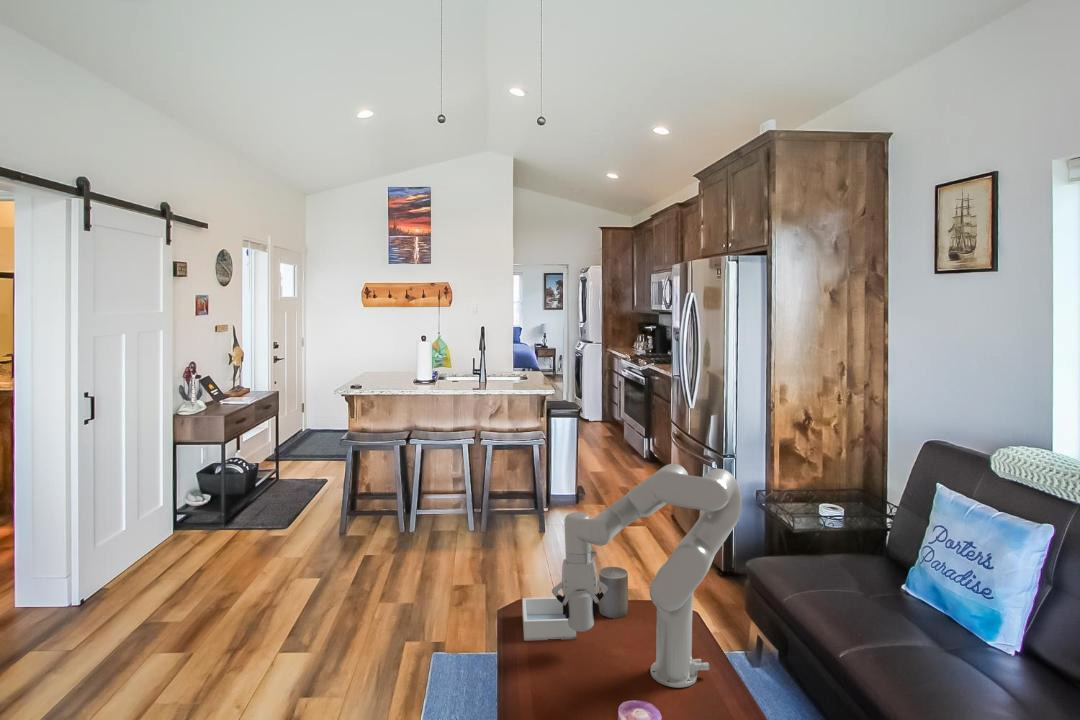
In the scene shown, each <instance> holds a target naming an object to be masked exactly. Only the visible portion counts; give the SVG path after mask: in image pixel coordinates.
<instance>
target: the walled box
mask: <svg viewBox="0 0 1080 720" xmlns="http://www.w3.org/2000/svg"><path fill="white" fill-rule="evenodd" d="M521 602H522V605H521V606H522V629H523V641H527V642H529V641H530V642H531V641H549V640H548V639H561V640H577V631H575V630H573V629H572V628H571V627H569V625H568V619H566V616H565V615H563V604H562V603H561V602H560V601H559V600H558V599H557V598H556V597H555V596H553V597H523V598H522V601H521Z"/></svg>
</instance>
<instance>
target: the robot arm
mask: <svg viewBox="0 0 1080 720" xmlns="http://www.w3.org/2000/svg"><path fill="white" fill-rule="evenodd" d="M667 504H668V505H672V506H677V507H682V508H687V509H693V510H699V511H702V513H701V514H700V515H699V518H698V520H697V521H696V522H695V523H694V525H693V526H692V528H690V530H689V531H688V533H687V534H685V535H684V537H683V538H682V539H681V540H680V541H679V543H678V544H677V546H676V547H675V548H674V550H673V551H672V553H671V554H670V556H669V557H668V559H667V560H666V561H665V562H664V563H663V564H662V565H661V566H660V568H659V569H658V571H657V572H656V574H655V576H654V577H653V579H652V580H651V582H650V585H649V597H650V600H651V602H652V603H653V606H655V607H656V631H655V633H656V635H655V636H656V639H655V641H656V643H655V645H656V646H655V649H656V651H655V652H656V653H655V655H656V657H655V658H656V659H655V661H654V662H653V663H652V664H651V665H650V672H649V673H650V675H651V678H652V679H653V680H655V681H656V683H659V684H660V685H663V686H664V687H665V686H666V687H670V688H678V689H680V688H687V687H691V686H692V685H694V684H695V683H696V682H697V680H698V672H699V671H709V670H710V663H709V662H707V661H706V662H702V659H701V658H693V657H692V653H693V651H692V648H693V642H692V641H693V606H694V605H693V604H694V592H695V590H697V588H698V587H699V585H700V584H701V582H702V581H704V579H705V577H706V576H707V574H708V572H709V571H710V569H711V566H712V564H713V560H714V558H715V556H716V554H717V553H718V551H719V550H720V548H721V547H722V545H723V544H724V543H725V542H726V541H727V539H728V537H729V535H730V534H731V532H732V531H733V530H734V528H735V527H736V525H737V523H738V521H739V519H740V515H741V512H742V505H743V497H742V490H741V488H740V486H739V483H738V481H737V479H736V478H735V477H734V476H733V474H732V473H731V472H730V471H728V470H726V469H723V468H715V469H711V470H709V471H707V473H705V474H704V475H703V476H697V475H690V474H689V472H688V471H687V470H686V469H685V468H684V466H682V465H681V464H678V463H668V464H666V465H664V466H662V467H661V468H660V469H658V470H657V471H655V472H654V473H652V474H651V475H650V476H648V477H647V478H645V479H644V480H642V482H640V483H639V484H637V485H635V486H634V487H633V488H631V489H630V490H629V491H628V492H627V493H626V494H625V495H623V496H622V497H621V498H619V499H618V500H616V501H615V502H614V503H612V504H610V506H607V507H606V508H605V509H604V510H602V511H601V512H600V513H598V514H597V515H596V516H595V517H592V518H591V517H590V516H589V514H587V513H584V512H578V511H577V512H575V511H574V512H571V513H568V514H566V516H565V517H564V541H565V542H564V544H565V545H564V547H565V548H564V549H565V558H564V559H563V561H562V567H561V581H560V582H559V583H558V584H556V585H555V586H554V587H553V588H552V589H551V593H552V596H553V597H556V598H557V599H558V600H559V601H560V602H561V603H562V604H563V615H565V616H566V619H568V618H569V615H568V603H567V602H568V600H569V597H570V595H572V594H573V593H574V592H573V591H584V590H588V591H587V592H588V593H590V594H591V595H592V597H593V616H594V618H596V617H597V613H599V601H600V600H601V598H602V597H603V596H604V594H605V593H606V591H607V590H608V587H607V586H606V585H605V584H603V583H602V582H600V581H599V579H598V578H597V571H596V564H595V560H594V557H597V551H596V550H595V551H594V550H592V545H594V546H597V547H599V546H606V545H607V544H609V543H610V541H612V540H613V538H614V537H615V536H616V535H618V533H620V532H621V531H622V530H623V529H624V528H626V527H628V526H629V525H631V524H632V523H634V522H635V521H637V520H638V519H641V518H647V517H649V516H651V515H653V514H655V512H657V511H659V510H660V509H661V508H663V507H665V506H666V505H667ZM599 587H600V588H601V591H599V590H598V588H599ZM561 590H562V592H563V596H562V595H561V594H560V593H559V591H561Z"/></svg>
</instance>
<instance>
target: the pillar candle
mask: <svg viewBox="0 0 1080 720" xmlns="http://www.w3.org/2000/svg"><path fill="white" fill-rule="evenodd" d="M598 580H599V581H600V582H602V583H603V584H605V585H606V586H607V587H608V590H607V591H606V593H605V594H604V596H603V597H602V598H601V600H600V601H599V603H598V612H599V613H600V615H601V616H604V617H605V618H609V619H621V618H624V617H627V616H628V614H629V575H628V570H626V569H625V568H623V567H619V566H607V567H603V568H601V569H600V570H599V571H598ZM599 591H601V588H600V587H598V592H599Z"/></svg>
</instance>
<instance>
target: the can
mask: <svg viewBox="0 0 1080 720" xmlns="http://www.w3.org/2000/svg"><path fill="white" fill-rule="evenodd" d="M587 591H588V590H584V591H573V592H574V593H573V594H572V595H570V597H569V600H568V602H567V603H568V615H569V618H568V625H569V627H571V628H572V629H573V630H575V631H576V632H581V633H582V632H587V631H590V630H591V629H592V627H593V626H594V624H595V620H594V618H595V617H594V616H593V597H592V595H591V594H590V593H588V592H587Z"/></svg>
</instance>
